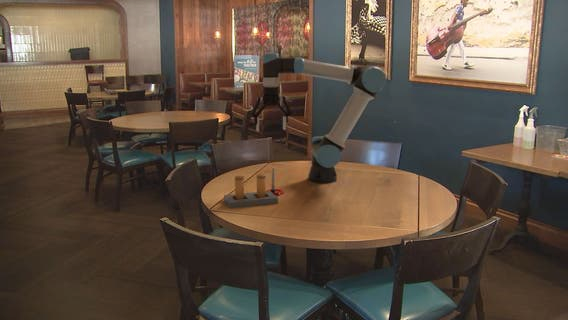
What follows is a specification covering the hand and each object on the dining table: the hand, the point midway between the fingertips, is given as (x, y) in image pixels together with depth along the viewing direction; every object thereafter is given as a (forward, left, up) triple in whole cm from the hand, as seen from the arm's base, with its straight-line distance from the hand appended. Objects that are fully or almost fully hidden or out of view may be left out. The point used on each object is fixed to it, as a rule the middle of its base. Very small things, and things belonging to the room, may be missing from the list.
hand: (271, 130), depth 238 cm
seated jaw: (+21, +20, -29) cm, 41 cm away
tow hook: (+1, +10, -29) cm, 31 cm away
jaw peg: (+11, +20, -29) cm, 37 cm away
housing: (+16, +20, -29) cm, 38 cm away
